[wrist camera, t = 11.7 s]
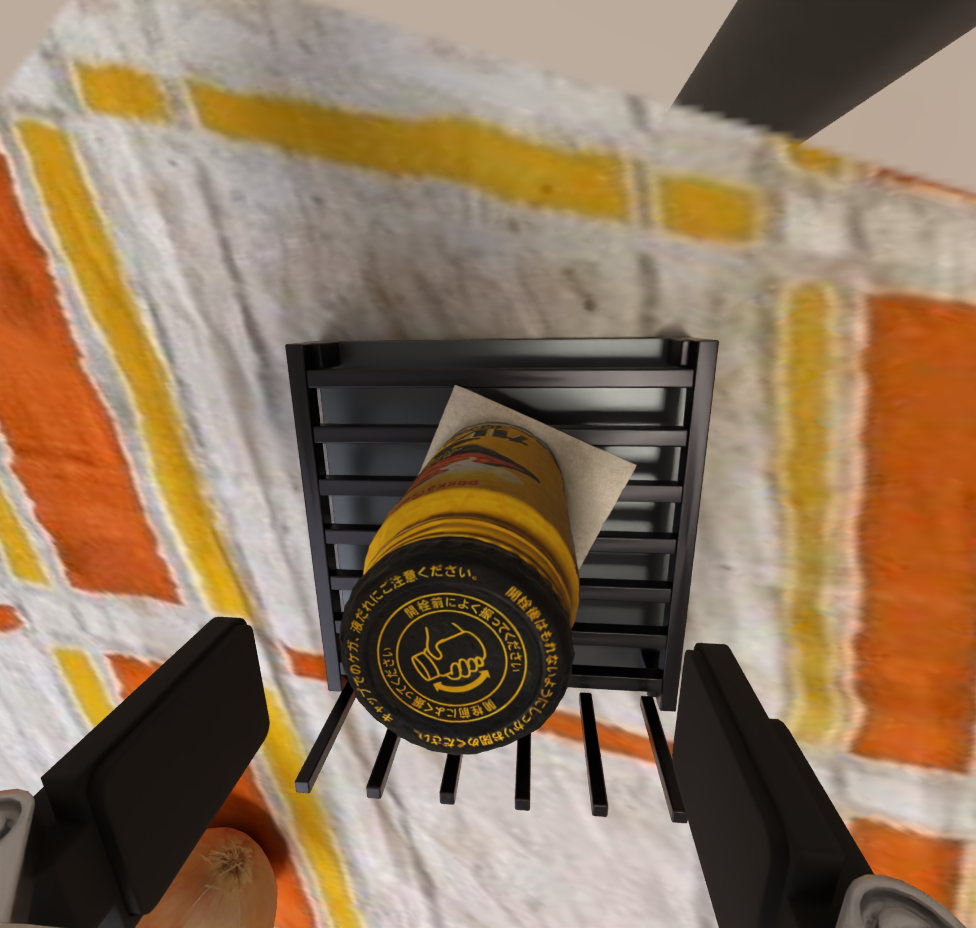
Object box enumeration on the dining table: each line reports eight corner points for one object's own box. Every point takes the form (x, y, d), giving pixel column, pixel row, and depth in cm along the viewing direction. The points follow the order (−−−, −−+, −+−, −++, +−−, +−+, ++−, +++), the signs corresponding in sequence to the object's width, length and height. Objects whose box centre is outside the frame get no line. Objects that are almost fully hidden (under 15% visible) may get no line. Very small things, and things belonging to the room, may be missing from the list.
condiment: (455, 383, 21) (356, 461, 9) (636, 464, 21) (757, 636, 9) (397, 526, 23) (258, 733, 11) (561, 598, 23) (588, 870, 12)
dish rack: (318, 341, 24) (189, 352, 15) (692, 337, 22) (797, 347, 14) (351, 650, 29) (269, 796, 20) (659, 666, 28) (719, 833, 19)
